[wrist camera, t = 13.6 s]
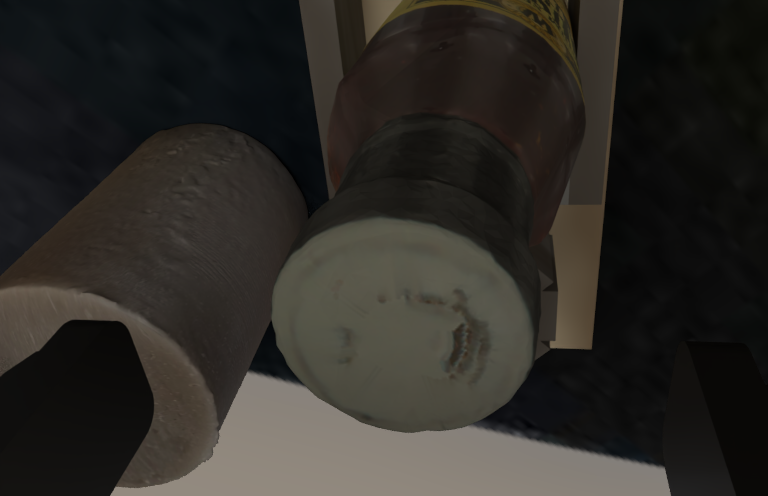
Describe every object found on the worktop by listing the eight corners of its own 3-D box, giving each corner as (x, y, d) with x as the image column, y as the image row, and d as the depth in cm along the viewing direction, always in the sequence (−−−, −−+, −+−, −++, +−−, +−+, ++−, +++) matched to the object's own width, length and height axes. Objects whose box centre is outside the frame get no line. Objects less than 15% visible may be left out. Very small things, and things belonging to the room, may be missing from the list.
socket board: (634, -187, 23) (667, -190, 18) (589, 334, 35) (601, 414, 30) (300, -150, 25) (251, -144, 20) (365, 328, 37) (344, 401, 32)
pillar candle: (128, 256, 37) (-59, 478, 25) (131, 94, 32) (-107, 274, 19) (296, 303, 37) (193, 548, 25) (328, 150, 32) (217, 365, 19)
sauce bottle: (601, 8, 25) (771, 352, 9) (495, 130, 28) (472, 550, 12) (465, -104, 24) (359, 48, 7) (370, 37, 27) (150, 361, 11)
